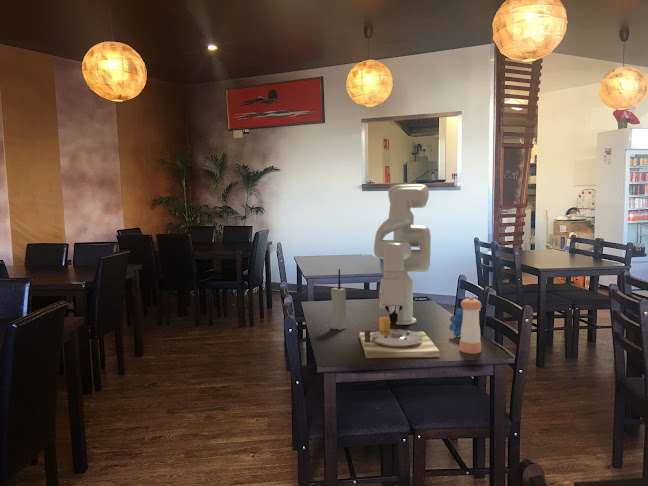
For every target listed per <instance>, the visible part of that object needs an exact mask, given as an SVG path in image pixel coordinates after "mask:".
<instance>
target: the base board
mask: <svg viewBox="0 0 648 486" xmlns="http://www.w3.org/2000/svg"><path fill="white" fill-rule="evenodd" d="M374 332H375V331H371V330H370V329H365V330H364V331H363V332H362V331H360V332H359V340H360V343H361V346H362V349H363V352H364V355H365V358H367V359H377V358H378V359H379V358H380V359H382V358H383V359H385V358H387V359H389V358H390V359H391V358H394V359H395V358H440V357H441V351H440V349H438V347H437V346H436V345H435V343H434V342H433V341H432V340H431V338H430V337H429V336H428V335H427V334H426V332H424V330H423V331H420V330H419V331H416V332H417V333H419V334H421V335H422V342H421V343H420V344H418V345H415V346H410V347H390V346H384V345H380V344H377V343H375V342H373V340H372V334H373V333H374Z"/></svg>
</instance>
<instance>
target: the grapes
mask: <svg viewBox="0 0 648 486" xmlns="http://www.w3.org/2000/svg"><path fill="white" fill-rule="evenodd" d="M449 321H450V324H449V326H448V328H449V330H450V331H452V332H453V335H454V336H455V337H461V327H462V321H463V308H457V309H456V311H455V314H453V315H452V316H450V318H449ZM479 322H480V319H479Z"/></svg>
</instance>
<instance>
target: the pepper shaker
mask: <svg viewBox="0 0 648 486" xmlns="http://www.w3.org/2000/svg"><path fill="white" fill-rule="evenodd" d="M460 306H461V309H463V321H462V327H461V335H460V339H459V351H460V352H461V353H465V354H471V355H473V354H474V355H475V354H480V353H481V351H482V342H481V327H480V321H479V320H480V309H481V308H482V307H483V306H482V302H481V301H480V300H478V299H476V298H474V297H473V296H470V297H468V298H465V299H463V300H462V301H461V302H460Z"/></svg>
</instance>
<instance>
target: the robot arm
mask: <svg viewBox="0 0 648 486" xmlns="http://www.w3.org/2000/svg"><path fill="white" fill-rule="evenodd" d="M387 193H388V200H389V201H388V202H389V211H388V218H387V219H386V220H385V221H383V222H382V223H381V225H380V226H379V227H378V228H377V230H376V233H375V237H374V242H373V243H374V244H373V253H374V256H375V257H376V258H377V259H379V260H383V277H382V278H381V279H380V283H379V284H380V285H379V295H378V298H379V306H378V307H379V308H380V309H383V310H386V311H387V312H388V316H387V317H388V318H390V325H397V326H398V325H400V326H401V325H402V326H403V325H414V324H415V323H417V319H416V318H415V317H413V316H414V315H413V313H414V312H413V306H414V304H413V303H414V302H413V301H414V295H413V293H414V282H413V279H412V277H411V275H409V273H413V272H415V273H424V272H428V271H429V270H430V265H431V246H432V245H431V241H432V240H431V239H432V238H431V236H432V235H431V231H430V229H429V227H428V226H425V225H414V222H415V221H414V218H415V215H414V213H413V212H412V210H411V209H422V208H425V207H426V205H427V202H428V200H429V196H430V191H429V187H428V186H427V184H396V185H392V186H391V187H389V189H388V192H387ZM391 233H393V236H392V237H393V239H384V238H385V237H387V235H389V234H391ZM412 248H418V249H412Z"/></svg>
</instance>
